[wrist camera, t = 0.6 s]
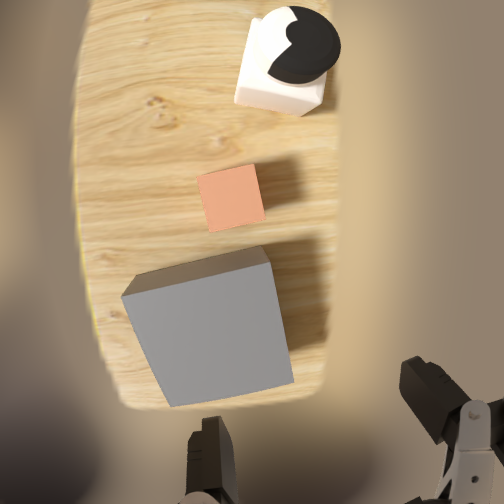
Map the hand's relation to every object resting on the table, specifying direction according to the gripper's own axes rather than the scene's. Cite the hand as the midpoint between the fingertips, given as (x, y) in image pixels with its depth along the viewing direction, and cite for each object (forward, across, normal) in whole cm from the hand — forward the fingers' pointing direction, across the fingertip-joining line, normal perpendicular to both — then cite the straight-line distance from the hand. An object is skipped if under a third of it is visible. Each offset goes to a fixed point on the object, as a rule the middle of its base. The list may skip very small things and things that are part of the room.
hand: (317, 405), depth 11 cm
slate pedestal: (+22, +6, +6) cm, 24 cm away
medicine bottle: (+23, -6, -18) cm, 29 cm away
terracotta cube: (+22, +1, -7) cm, 23 cm away
